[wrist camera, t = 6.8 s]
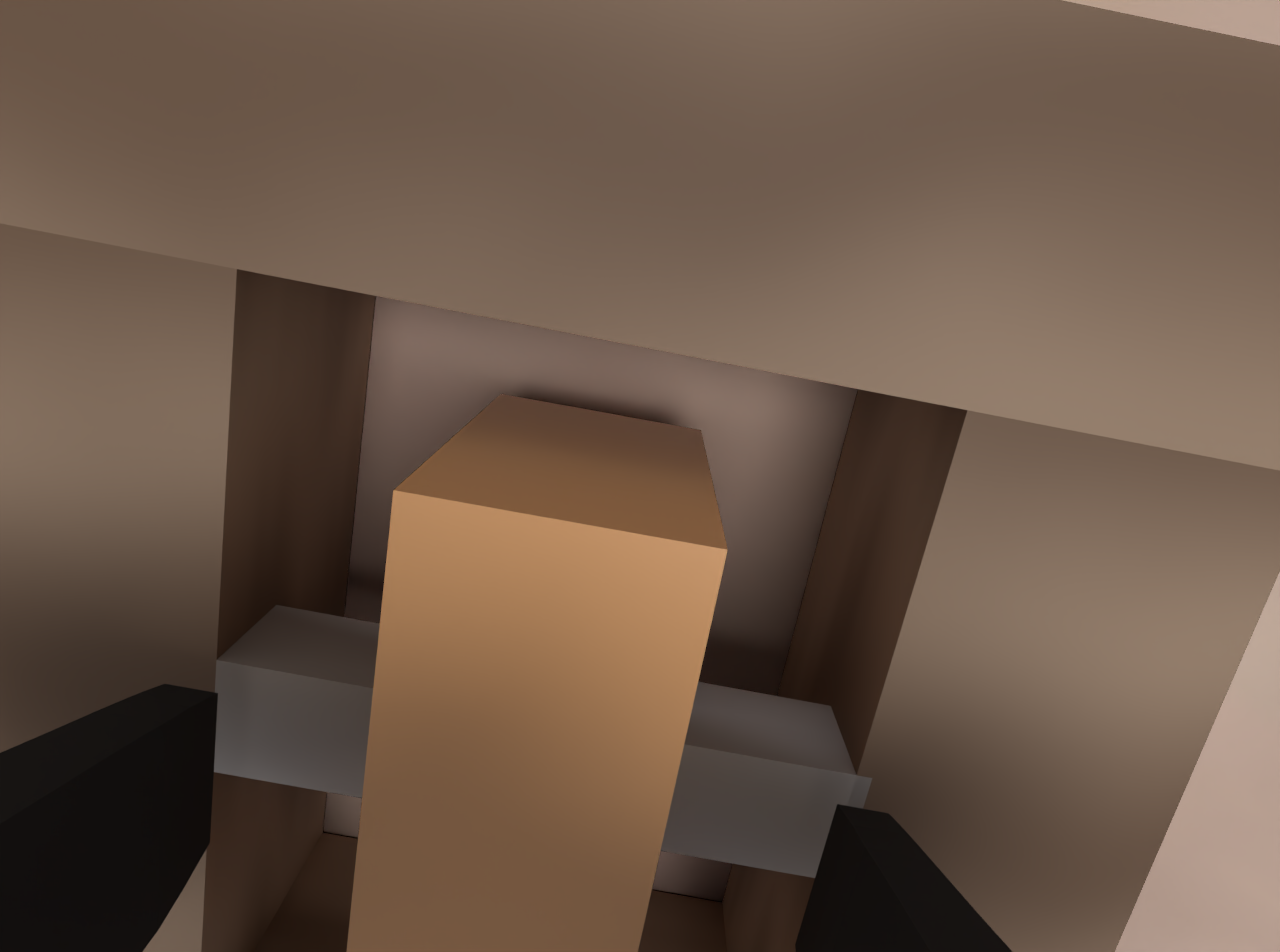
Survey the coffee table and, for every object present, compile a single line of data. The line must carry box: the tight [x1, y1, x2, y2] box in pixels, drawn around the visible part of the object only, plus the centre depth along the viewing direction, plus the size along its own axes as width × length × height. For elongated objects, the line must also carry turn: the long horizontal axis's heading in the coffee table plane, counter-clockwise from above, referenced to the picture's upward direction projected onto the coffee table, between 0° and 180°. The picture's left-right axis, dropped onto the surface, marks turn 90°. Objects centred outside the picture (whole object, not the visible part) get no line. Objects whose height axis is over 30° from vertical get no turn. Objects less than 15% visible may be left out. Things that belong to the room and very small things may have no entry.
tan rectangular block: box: [346, 394, 728, 952], centre depth 11 cm, size 8×3×5 cm, turn 170°
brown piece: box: [0, 0, 1280, 952], centre depth 12 cm, size 19×16×4 cm
